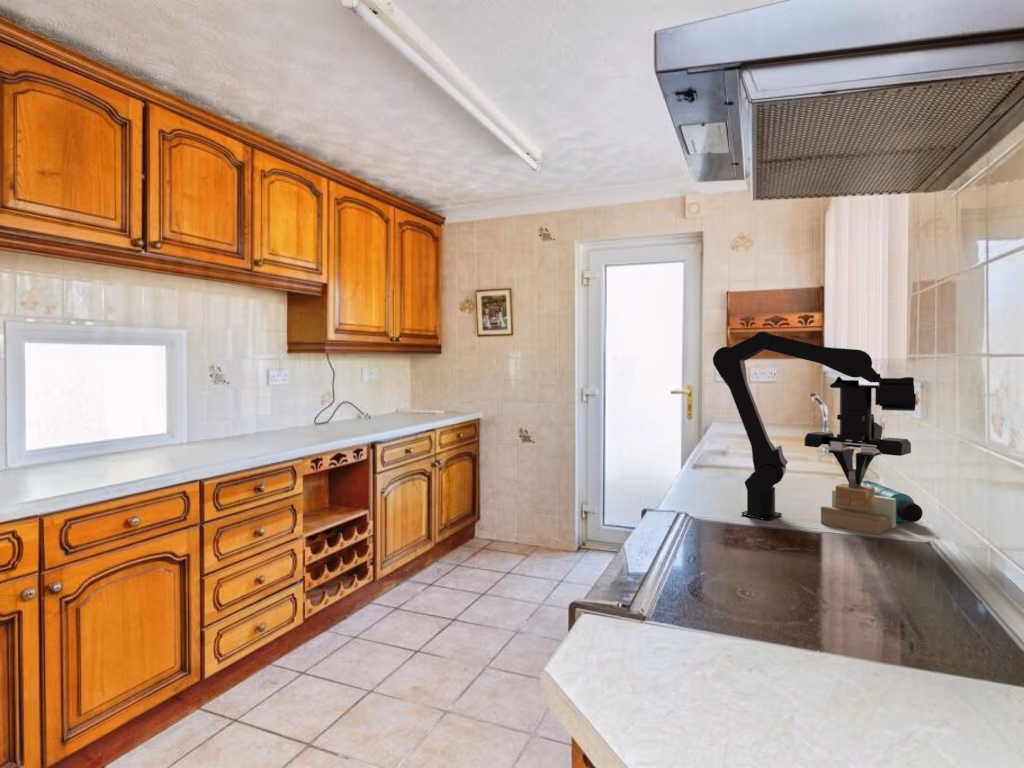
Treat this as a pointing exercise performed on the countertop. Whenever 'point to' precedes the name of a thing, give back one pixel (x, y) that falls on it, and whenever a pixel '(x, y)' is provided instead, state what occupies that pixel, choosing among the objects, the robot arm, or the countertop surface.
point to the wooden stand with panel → (862, 515)
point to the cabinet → (855, 494)
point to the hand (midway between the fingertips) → (854, 483)
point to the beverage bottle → (898, 502)
